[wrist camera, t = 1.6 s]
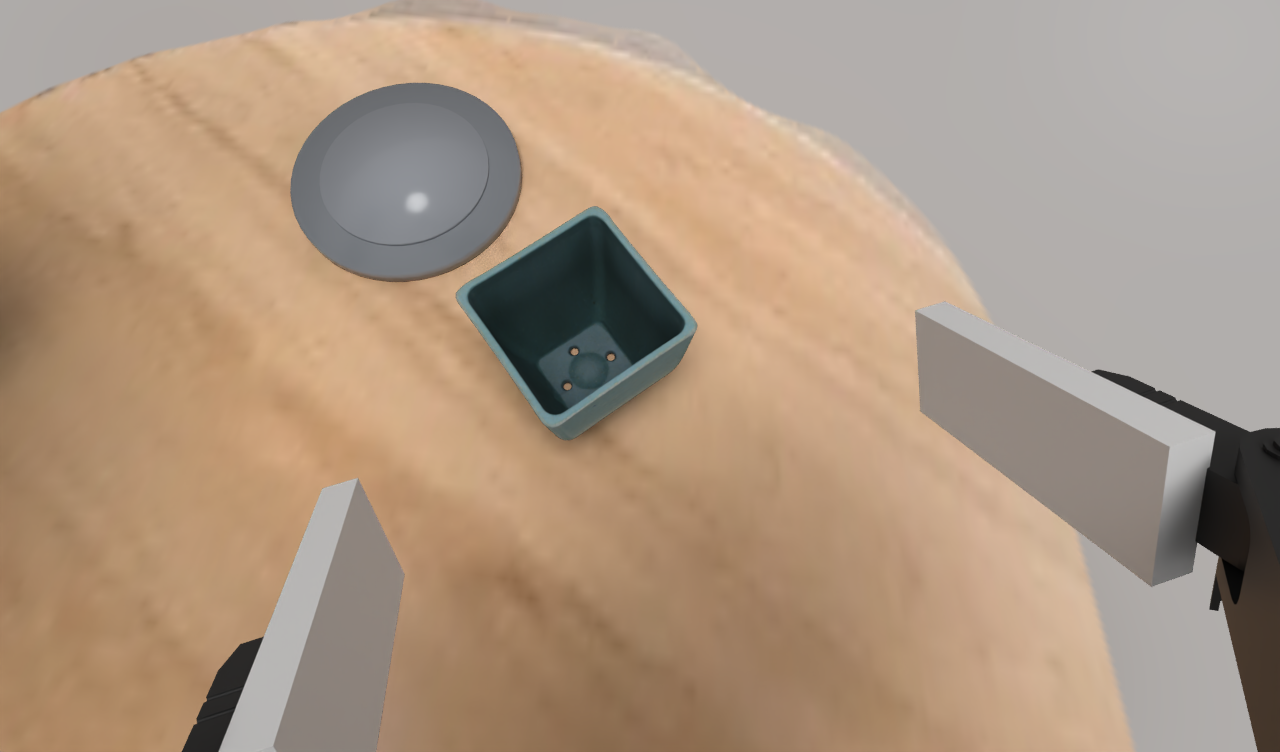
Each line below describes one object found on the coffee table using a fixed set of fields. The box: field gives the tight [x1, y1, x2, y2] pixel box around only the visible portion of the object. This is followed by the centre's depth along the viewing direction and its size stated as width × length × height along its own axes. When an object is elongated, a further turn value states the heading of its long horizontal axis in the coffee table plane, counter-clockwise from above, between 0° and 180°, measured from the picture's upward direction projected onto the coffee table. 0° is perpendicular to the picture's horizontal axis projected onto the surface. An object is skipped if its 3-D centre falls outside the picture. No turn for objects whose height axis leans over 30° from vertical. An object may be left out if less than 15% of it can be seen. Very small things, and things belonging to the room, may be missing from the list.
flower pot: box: [456, 206, 697, 440], centre depth 38 cm, size 9×9×9 cm
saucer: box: [291, 83, 522, 282], centre depth 46 cm, size 15×15×1 cm
